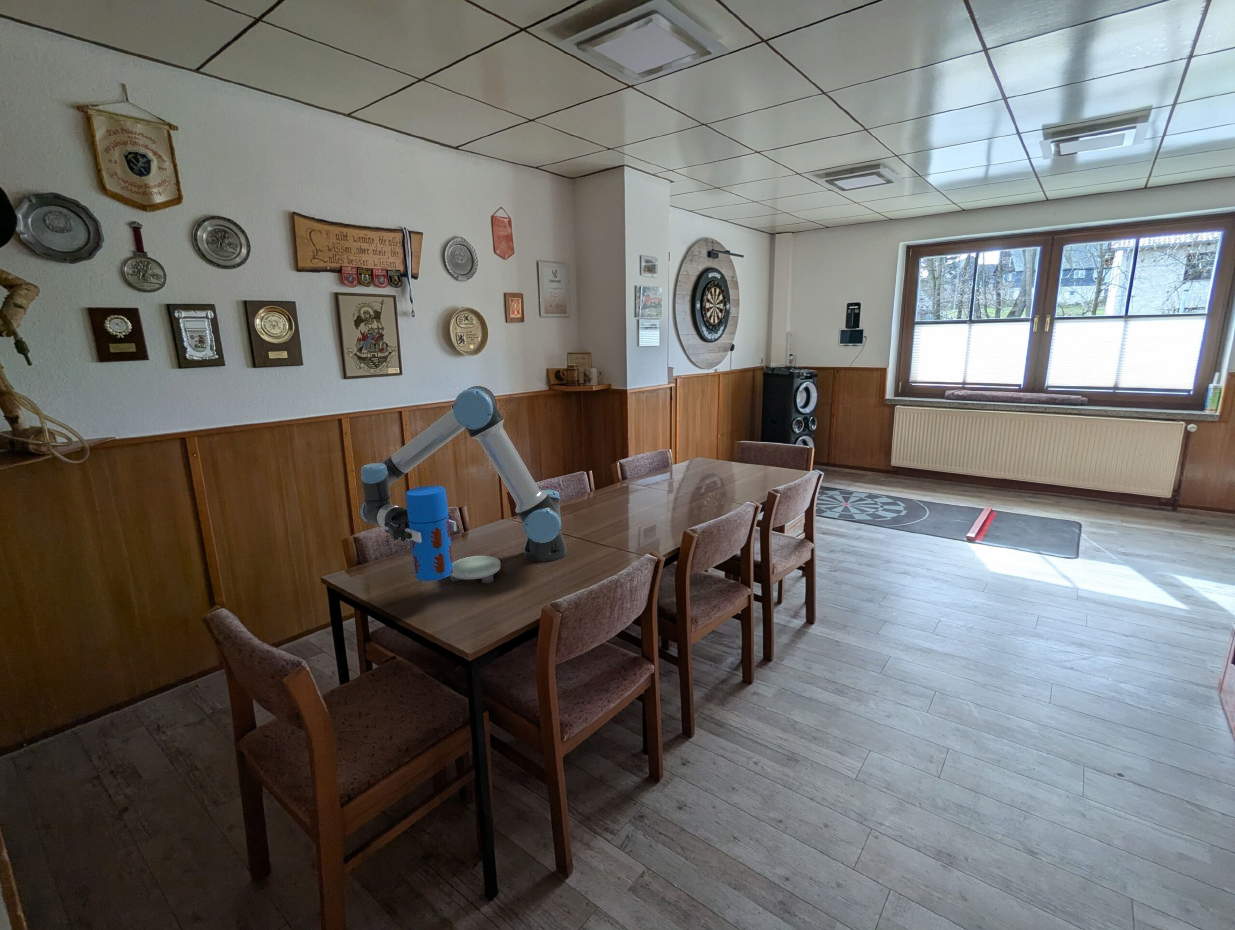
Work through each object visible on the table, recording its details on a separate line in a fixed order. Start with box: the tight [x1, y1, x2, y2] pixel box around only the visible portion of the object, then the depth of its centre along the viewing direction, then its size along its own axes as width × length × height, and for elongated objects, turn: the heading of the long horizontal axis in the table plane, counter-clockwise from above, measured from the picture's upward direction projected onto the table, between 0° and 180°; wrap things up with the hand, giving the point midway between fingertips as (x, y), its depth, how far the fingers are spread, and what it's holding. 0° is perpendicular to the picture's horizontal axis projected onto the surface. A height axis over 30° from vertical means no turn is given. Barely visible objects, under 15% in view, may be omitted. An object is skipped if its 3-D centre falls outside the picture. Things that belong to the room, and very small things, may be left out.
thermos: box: [405, 485, 454, 582], centre depth 164 cm, size 11×11×25 cm
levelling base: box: [449, 555, 501, 584], centre depth 184 cm, size 16×16×4 cm
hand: (438, 531), depth 161 cm, fingers closed on thermos, 11 cm apart
